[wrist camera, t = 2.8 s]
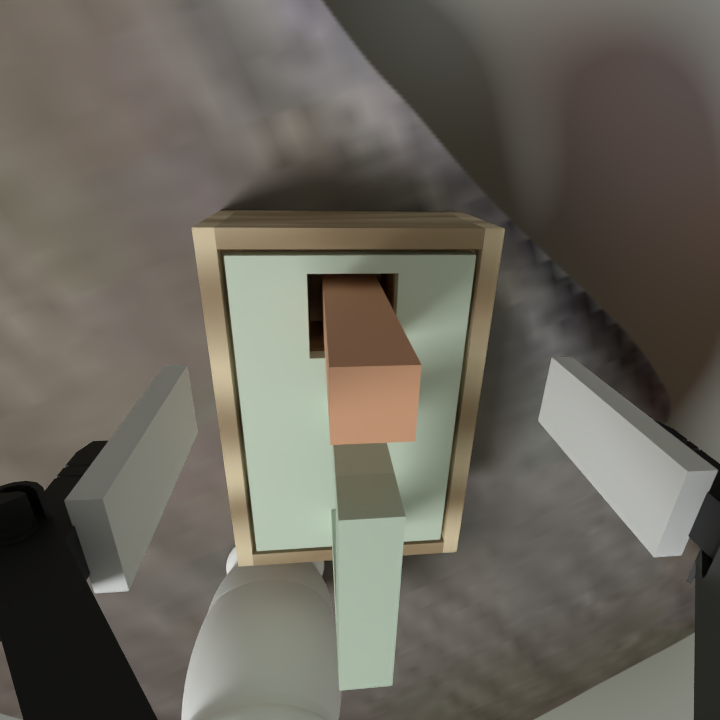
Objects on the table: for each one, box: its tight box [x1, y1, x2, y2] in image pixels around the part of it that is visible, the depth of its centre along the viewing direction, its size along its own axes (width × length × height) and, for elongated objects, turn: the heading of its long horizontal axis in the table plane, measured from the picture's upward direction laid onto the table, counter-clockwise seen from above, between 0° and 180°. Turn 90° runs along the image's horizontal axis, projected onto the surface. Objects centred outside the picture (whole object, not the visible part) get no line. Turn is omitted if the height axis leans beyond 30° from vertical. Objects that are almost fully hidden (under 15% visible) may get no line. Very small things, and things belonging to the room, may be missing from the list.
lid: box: [224, 251, 476, 691], centre depth 22 cm, size 19×12×10 cm, turn 179°
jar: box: [181, 546, 342, 720], centre depth 33 cm, size 11×10×15 cm
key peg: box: [321, 274, 422, 445], centre depth 22 cm, size 3×3×15 cm
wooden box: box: [192, 210, 505, 567], centre depth 29 cm, size 22×15×7 cm
